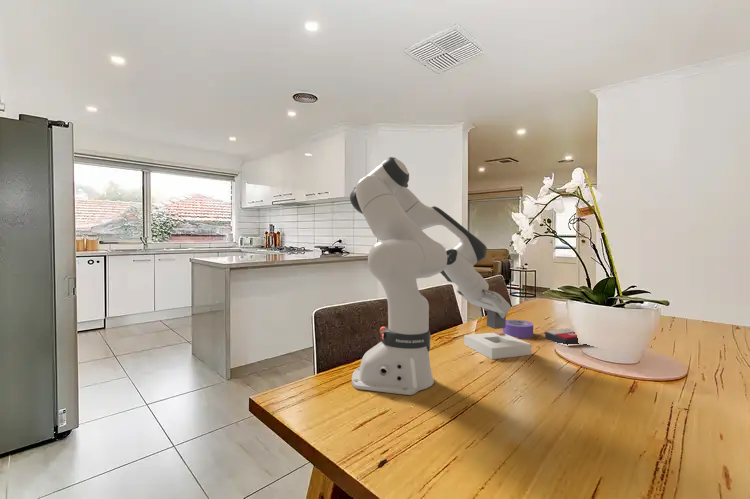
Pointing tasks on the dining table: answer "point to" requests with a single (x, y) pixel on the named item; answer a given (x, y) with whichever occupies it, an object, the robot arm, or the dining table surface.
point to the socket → (497, 345)
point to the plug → (495, 320)
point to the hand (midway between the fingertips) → (497, 314)
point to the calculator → (562, 336)
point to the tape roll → (519, 328)
